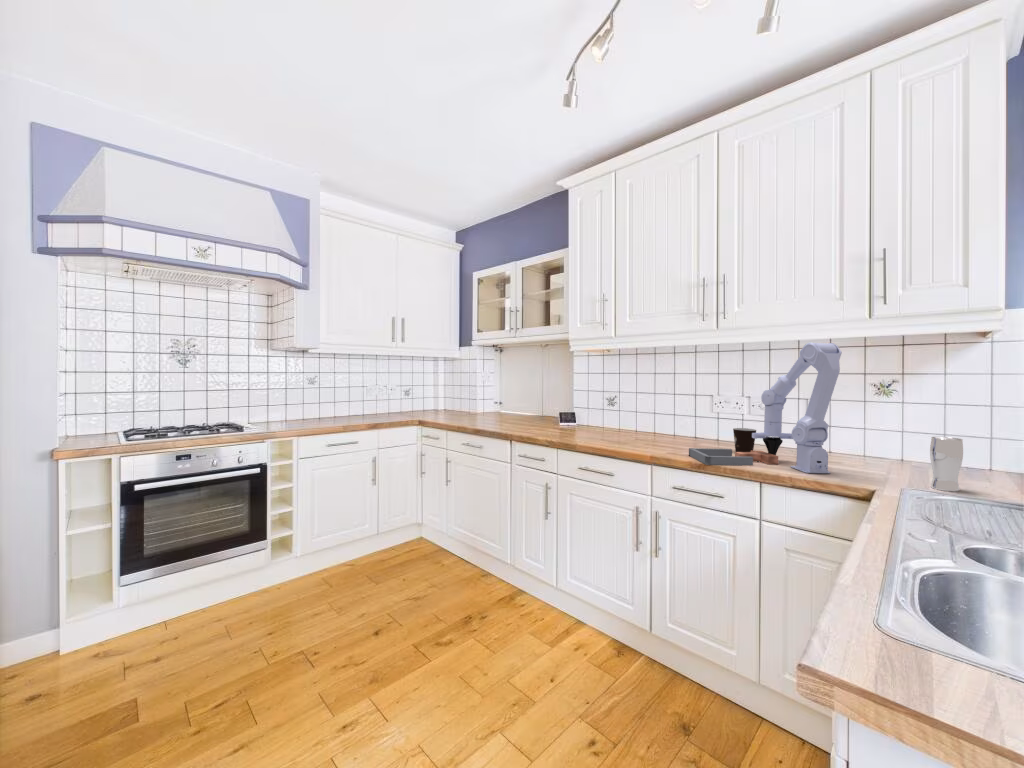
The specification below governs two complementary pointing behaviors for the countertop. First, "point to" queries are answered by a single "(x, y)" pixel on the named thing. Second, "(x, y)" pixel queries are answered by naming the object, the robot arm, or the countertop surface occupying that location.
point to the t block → (759, 456)
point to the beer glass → (946, 462)
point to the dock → (718, 457)
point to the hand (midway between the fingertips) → (772, 457)
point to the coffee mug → (743, 439)
